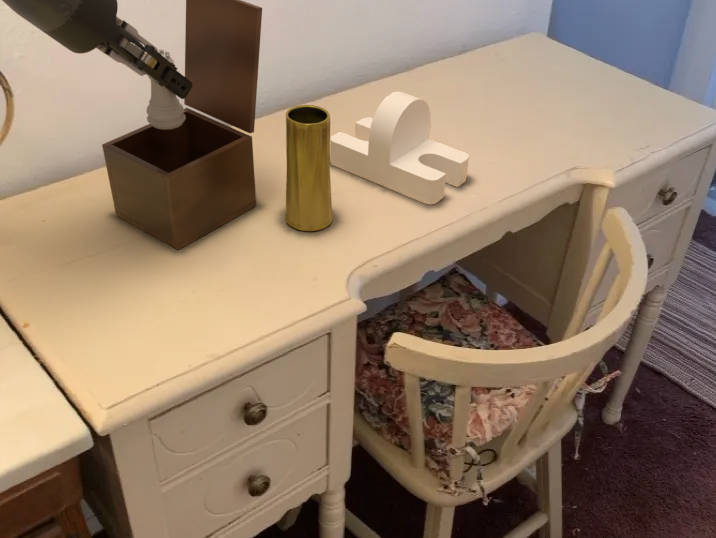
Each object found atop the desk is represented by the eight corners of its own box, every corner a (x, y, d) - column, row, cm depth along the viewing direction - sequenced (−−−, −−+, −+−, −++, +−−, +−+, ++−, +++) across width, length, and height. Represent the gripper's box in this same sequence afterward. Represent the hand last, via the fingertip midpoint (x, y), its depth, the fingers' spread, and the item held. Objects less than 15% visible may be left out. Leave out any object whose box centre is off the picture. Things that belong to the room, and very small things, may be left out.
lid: (257, 8, 94) (262, 7, 94) (186, -18, 99) (191, -18, 99) (249, 133, 102) (254, 132, 103) (184, 104, 107) (188, 103, 107)
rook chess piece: (179, 111, 100) (171, 43, 95) (191, 127, 97) (183, 58, 92) (142, 117, 99) (132, 49, 93) (153, 133, 96) (143, 64, 90)
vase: (322, 236, 105) (322, 130, 95) (277, 225, 106) (273, 120, 97) (339, 212, 109) (341, 108, 100) (296, 202, 111) (294, 99, 101)
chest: (178, 250, 102) (168, 177, 95) (115, 215, 106) (101, 144, 99) (256, 206, 110) (252, 136, 103) (194, 175, 114) (186, 107, 108)
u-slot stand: (431, 206, 112) (439, 130, 104) (326, 162, 119) (326, 88, 111) (469, 178, 117) (479, 105, 110) (367, 138, 125) (369, 67, 117)
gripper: (112, -19, 78) (230, 78, 92) (42, -59, 85) (162, 37, 100) (71, 51, 79) (194, 136, 93) (5, 5, 86) (129, 91, 100)
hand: (177, 84), depth 96 cm, fingers closed on rook chess piece, 3 cm apart
